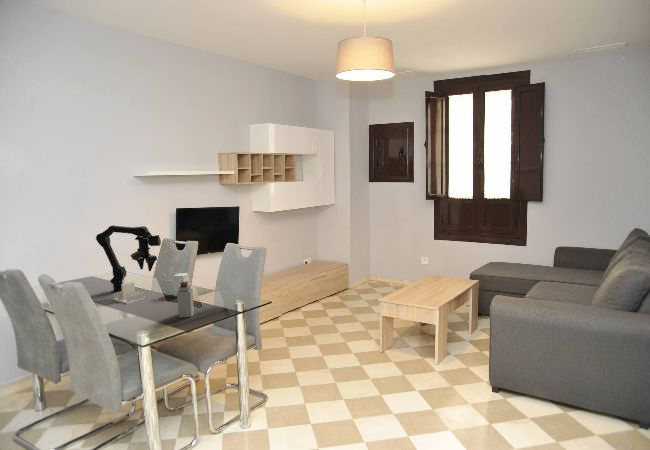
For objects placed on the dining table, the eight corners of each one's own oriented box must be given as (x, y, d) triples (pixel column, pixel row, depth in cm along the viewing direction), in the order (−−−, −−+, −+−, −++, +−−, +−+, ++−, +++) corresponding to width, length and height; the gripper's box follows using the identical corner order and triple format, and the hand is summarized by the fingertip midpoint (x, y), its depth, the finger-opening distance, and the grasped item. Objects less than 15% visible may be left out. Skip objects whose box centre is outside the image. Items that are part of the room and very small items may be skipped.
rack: (113, 299, 299) (112, 293, 298) (131, 294, 308) (131, 288, 307) (126, 303, 289) (126, 297, 289) (145, 298, 299) (144, 292, 298)
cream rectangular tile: (122, 298, 297) (121, 284, 295) (133, 295, 302) (132, 281, 301) (124, 299, 295) (123, 284, 294) (135, 296, 301) (134, 282, 299)
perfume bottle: (181, 313, 269) (178, 281, 266) (194, 312, 269) (191, 280, 267) (178, 317, 262) (176, 284, 260) (191, 316, 263) (189, 283, 260)
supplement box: (184, 296, 301) (183, 276, 300) (173, 296, 303) (171, 275, 301) (190, 292, 309) (188, 273, 307) (179, 292, 310) (177, 272, 308)
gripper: (124, 247, 314) (126, 271, 316) (140, 250, 302) (142, 274, 304) (139, 244, 322) (141, 267, 324) (156, 247, 311) (158, 271, 313)
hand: (145, 270), depth 316 cm, fingers open, 9 cm apart
